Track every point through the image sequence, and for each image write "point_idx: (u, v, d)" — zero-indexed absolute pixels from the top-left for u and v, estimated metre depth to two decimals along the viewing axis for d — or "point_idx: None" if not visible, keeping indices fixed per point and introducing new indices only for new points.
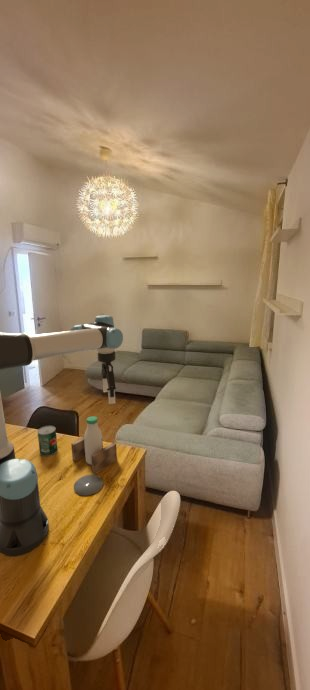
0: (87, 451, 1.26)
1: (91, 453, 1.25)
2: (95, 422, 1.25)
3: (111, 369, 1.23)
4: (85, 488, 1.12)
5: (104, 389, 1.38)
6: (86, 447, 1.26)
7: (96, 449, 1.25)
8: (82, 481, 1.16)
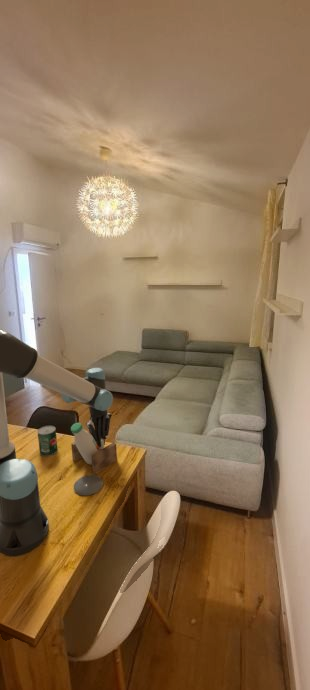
0: (82, 455, 1.24)
1: (87, 456, 1.24)
2: (80, 430, 1.19)
3: (89, 427, 1.25)
4: (85, 488, 1.12)
5: None
6: (80, 452, 1.24)
7: (90, 452, 1.23)
8: (82, 481, 1.16)
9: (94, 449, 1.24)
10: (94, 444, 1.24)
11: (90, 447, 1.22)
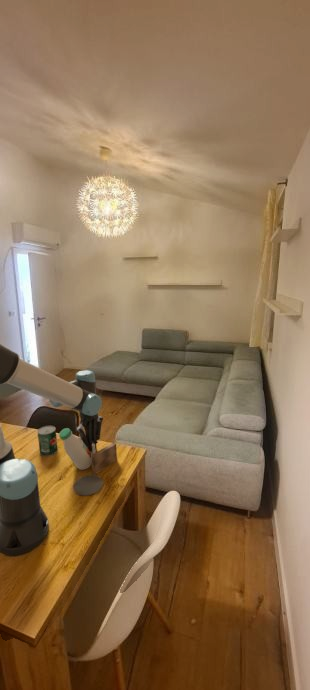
0: (73, 461, 1.21)
1: (77, 462, 1.20)
2: (68, 436, 1.15)
3: (79, 431, 1.21)
4: (85, 488, 1.12)
5: (91, 453, 1.29)
6: (70, 458, 1.20)
7: (80, 457, 1.19)
8: (82, 481, 1.16)
9: (84, 454, 1.20)
10: (84, 449, 1.21)
11: (80, 453, 1.19)
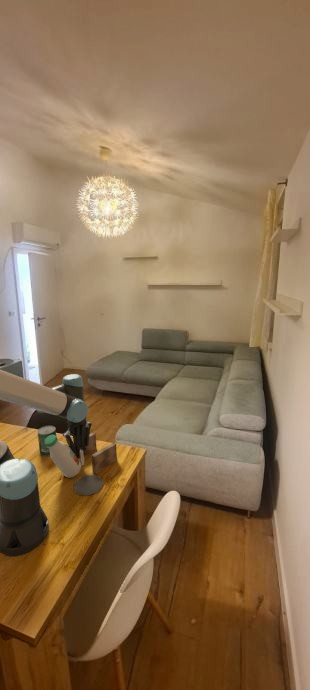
0: (59, 468, 1.16)
1: (64, 470, 1.15)
2: (54, 443, 1.10)
3: (66, 438, 1.16)
4: (85, 488, 1.12)
5: (79, 459, 1.25)
6: (56, 465, 1.15)
7: (67, 465, 1.15)
8: (82, 481, 1.16)
9: (72, 462, 1.16)
10: (71, 456, 1.16)
11: (67, 460, 1.14)
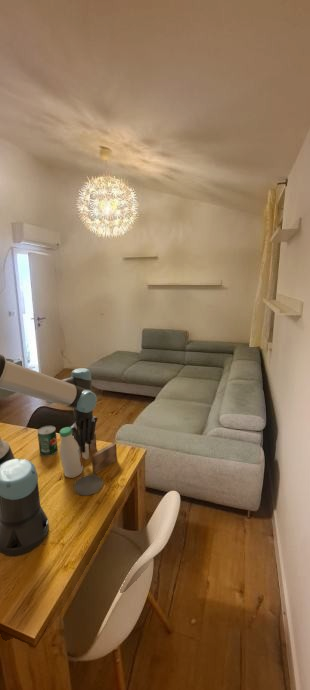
0: (64, 464, 1.17)
1: (68, 466, 1.17)
2: (69, 434, 1.15)
3: (73, 430, 1.18)
4: (85, 488, 1.12)
5: None
6: (62, 460, 1.17)
7: (72, 461, 1.17)
8: (82, 481, 1.16)
9: (77, 460, 1.18)
10: (79, 454, 1.19)
11: (74, 456, 1.17)
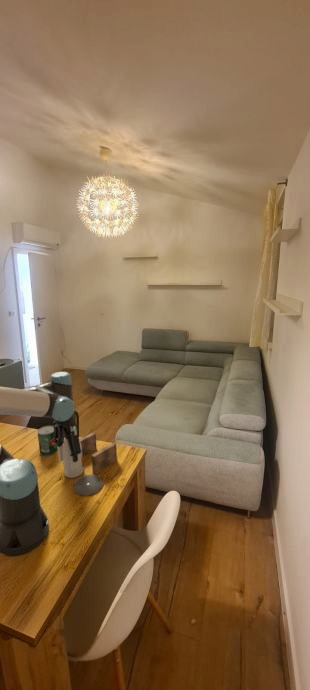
0: (65, 463, 1.18)
1: (69, 466, 1.17)
2: None
3: (76, 433, 1.12)
4: (85, 488, 1.12)
5: (61, 458, 1.21)
6: (64, 459, 1.18)
7: None
8: (82, 481, 1.16)
9: (79, 460, 1.19)
10: (81, 454, 1.20)
11: None
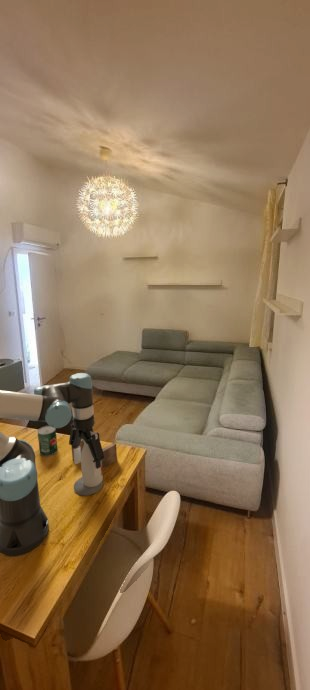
0: (84, 472, 1.11)
1: (88, 474, 1.11)
2: None
3: (97, 437, 1.06)
4: (85, 488, 1.12)
5: (76, 460, 1.15)
6: (83, 468, 1.11)
7: None
8: (82, 481, 1.16)
9: None
10: None
11: None
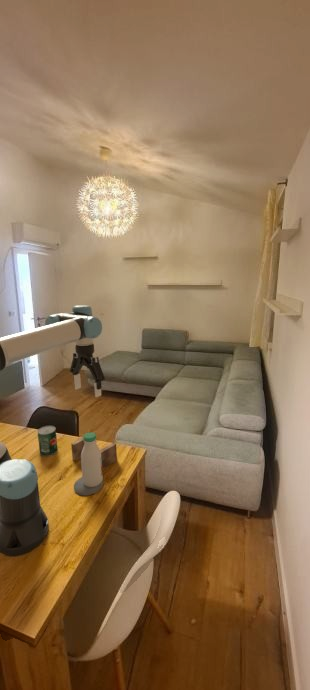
0: (84, 472, 1.12)
1: (89, 474, 1.11)
2: (93, 439, 1.10)
3: (97, 360, 1.19)
4: (85, 488, 1.12)
5: (76, 386, 1.29)
6: (83, 467, 1.11)
7: (94, 469, 1.11)
8: (82, 481, 1.16)
9: (99, 468, 1.12)
10: (100, 463, 1.13)
11: (96, 464, 1.11)
